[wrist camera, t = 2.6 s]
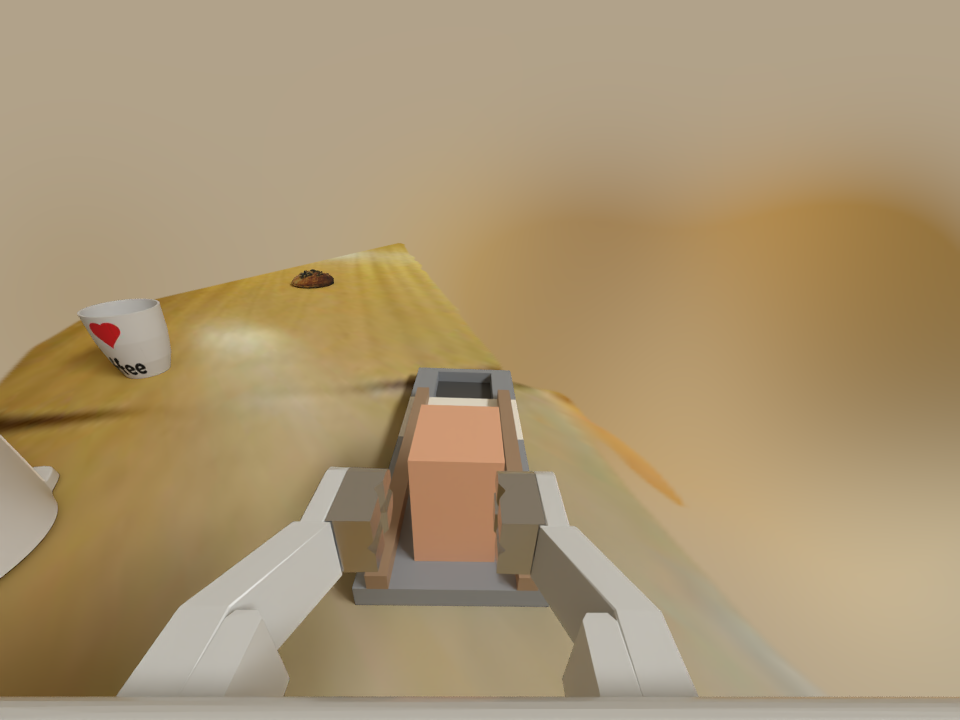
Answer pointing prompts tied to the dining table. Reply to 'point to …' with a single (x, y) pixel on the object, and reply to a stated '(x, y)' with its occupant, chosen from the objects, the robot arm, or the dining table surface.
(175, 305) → the dining table surface
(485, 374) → the tray
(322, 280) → the bread roll
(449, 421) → the block
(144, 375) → the cup
